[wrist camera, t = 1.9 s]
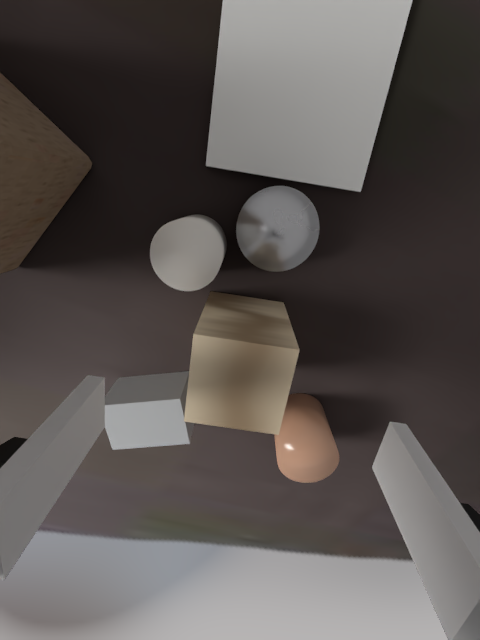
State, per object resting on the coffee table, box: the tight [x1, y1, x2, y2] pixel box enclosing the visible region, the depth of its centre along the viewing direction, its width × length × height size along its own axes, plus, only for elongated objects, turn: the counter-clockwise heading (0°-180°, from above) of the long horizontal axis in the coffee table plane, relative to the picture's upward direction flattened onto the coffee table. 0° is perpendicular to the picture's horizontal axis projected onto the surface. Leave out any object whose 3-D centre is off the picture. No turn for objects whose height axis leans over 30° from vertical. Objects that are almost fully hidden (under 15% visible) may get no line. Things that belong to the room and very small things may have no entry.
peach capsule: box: [274, 393, 339, 483], centre depth 25 cm, size 4×4×5 cm
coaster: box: [206, 0, 413, 192], centre depth 19 cm, size 10×10×1 cm
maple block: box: [184, 291, 300, 435], centre depth 21 cm, size 6×6×8 cm
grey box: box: [105, 371, 195, 450], centre depth 25 cm, size 6×4×4 cm, turn 97°
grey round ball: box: [236, 186, 320, 272], centre depth 21 cm, size 5×5×3 cm
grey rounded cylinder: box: [150, 214, 227, 291], centre depth 20 cm, size 4×4×5 cm
